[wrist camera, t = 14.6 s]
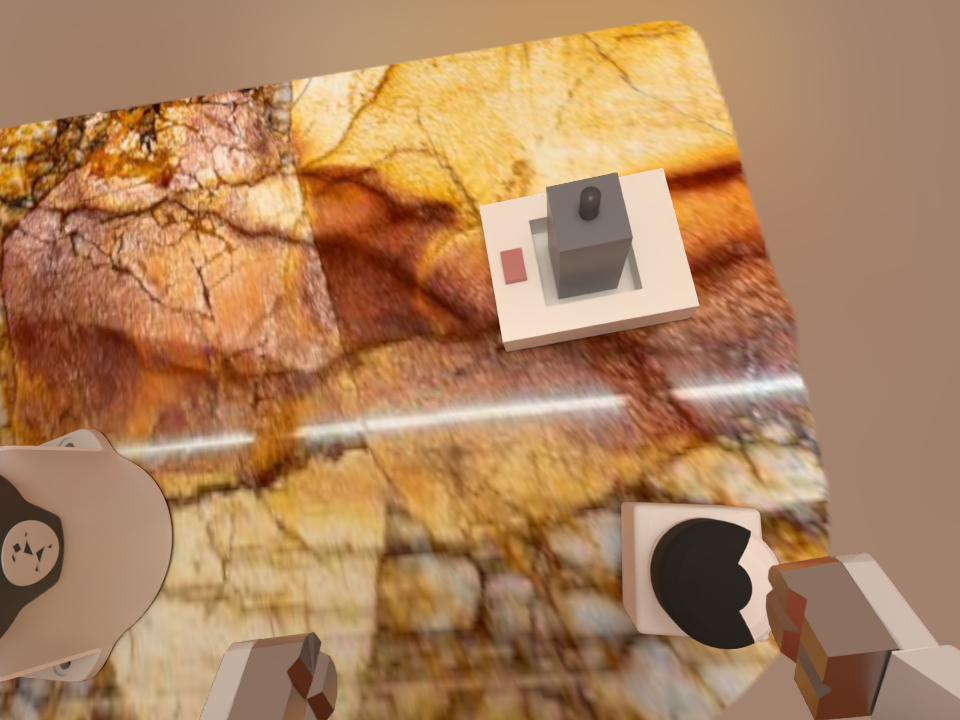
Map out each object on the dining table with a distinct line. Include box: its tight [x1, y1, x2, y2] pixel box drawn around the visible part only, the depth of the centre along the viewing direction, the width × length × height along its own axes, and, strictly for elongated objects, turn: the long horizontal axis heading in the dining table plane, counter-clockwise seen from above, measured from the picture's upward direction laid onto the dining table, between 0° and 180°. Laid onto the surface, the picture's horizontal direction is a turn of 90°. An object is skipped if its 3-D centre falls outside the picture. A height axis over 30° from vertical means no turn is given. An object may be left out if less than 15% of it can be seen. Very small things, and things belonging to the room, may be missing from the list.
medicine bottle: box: [621, 502, 779, 649], centre depth 33 cm, size 7×7×12 cm
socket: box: [479, 168, 699, 352], centre depth 43 cm, size 14×11×4 cm
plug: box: [546, 173, 633, 299], centre depth 38 cm, size 4×4×11 cm
